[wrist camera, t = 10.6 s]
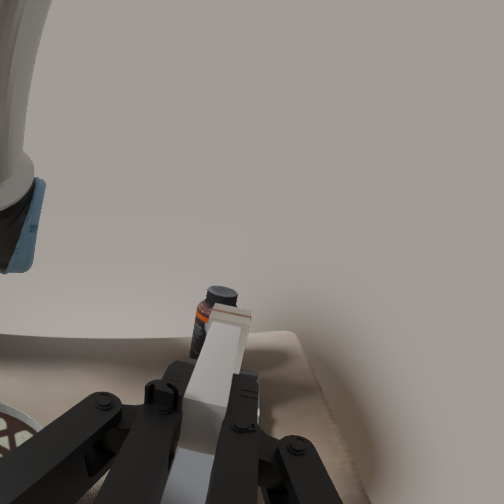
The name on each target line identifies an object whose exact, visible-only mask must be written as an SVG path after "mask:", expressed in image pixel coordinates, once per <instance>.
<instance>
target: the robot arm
mask: <svg viewBox="0 0 504 504" xmlns="http://www.w3.org/2000/svg"><path fill="white" fill-rule="evenodd" d="M51 2H52V0H0V273H2V274H7V273H23V272H26V271H28V270H29V269H30V268H31V266H32V264H33V258H34V251H35V243H36V236H37V230H38V224H39V218H40V213H41V208H42V203H43V198H44V193H45V188H46V183H45V181H44V180H42V179H39V178H38V177H34V166H33V163H32V161H31V159H30V157H29V156H28V155H27V154H26V153H25V152H24V151H23V140H24V129H25V128H24V127H25V120H26V112H27V104H28V97H29V91H30V85H31V79H32V74H33V69H34V65H35V60H36V55H37V51H38V47H39V43H40V39H41V35H42V31H43V28H44V24H45V21H46V17H47V14H48V11H49V8H50V5H51ZM240 330H241V327H237V326H232V325H227V324H223V323H219V322H214V321H212V324H211V326H210V329H209V331H208V334H207V337H206V339H205V342H204V345H203V347H202V350H201V352H200V355H199V358H198V360H197V363H196V365H192V364H188V363H184V362H180V361H175V362H173V363H172V364H170V365H169V366H168V368H167V370H166V372H165V374H164V376H163V378H162V380H153V381H151V382H148V383H147V384H146V385H145V400H144V404H142V405H124V404H122V403H121V401H120V399H119V398H118V397H117V396H115V395H114V394H111V393H109V392H95V393H93V394H91V395H89V396H88V397H86V398H85V399H83V400H82V401H81V402H79V403H78V404H77V405H75V406H74V407H72V408H71V409H70V410H68V411H67V412H66V413H64V414H63V415H61V416H60V417H59V418H57V419H56V420H54V421H53V422H52V423H50V424H49V425H47V426H46V427H45V428H43V429H42V430H40V431H39V432H38V433H36V434H35V435H33V436H32V437H31V438H29V439H28V440H26V441H25V442H23V443H22V444H21V445H19V446H18V447H16V448H15V449H14V450H12V451H11V452H9V453H8V454H6V455H5V456H4V457H2V458H1V459H0V504H75V503H76V502H77V501H78V500H79V499H80V498H81V497H82V496H83V495H84V494H85V493H86V492H87V491H88V490H89V489H90V488H91V487H92V486H93V485H94V484H95V483H96V482H97V481H98V480H99V479H100V478H101V477H102V476H103V475H104V474H105V473H106V472H107V471H108V470H109V469H110V468H111V469H110V471H109V473H108V475H107V476H106V478H105V480H104V482H103V484H102V486H101V488H100V490H99V492H98V494H97V496H96V499H95V501H94V503H93V504H160V502H161V499H162V496H163V493H164V490H165V486H166V483H167V480H168V477H169V474H170V471H171V467H172V464H173V461H174V458H175V451H176V447H179V448H183V449H187V450H191V451H195V452H199V453H204V454H208V455H213V456H215V457H214V461H213V466H212V470H211V474H210V481H209V486H208V491H207V496H206V502H205V504H257V486H260V487H261V491H262V494H263V498H264V501H265V504H343V502H342V500H341V498H340V497H339V495H338V493H337V491H336V489H335V487H334V485H333V483H332V481H331V479H330V477H329V475H328V473H327V471H326V469H325V467H324V465H323V463H322V461H321V459H320V457H319V455H318V453H317V451H316V449H315V447H314V445H313V444H312V443H311V441H309V440H308V439H306V438H304V437H301V436H296V435H290V436H285V437H284V438H282V439H281V440H279V439H276V438H273V437H271V436H269V435H267V434H266V433H264V432H263V431H262V430H261V429H260V428H259V425H258V422H257V418H258V393H259V384H258V383H257V381H256V379H255V377H249V376H244V375H239V374H234V373H233V370H234V365H235V359H236V353H237V347H238V342H239V336H240ZM177 444H178V445H177Z"/></svg>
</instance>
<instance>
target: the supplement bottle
mask: <svg viewBox="0 0 504 504" xmlns="http://www.w3.org/2000/svg"><path fill="white" fill-rule="evenodd" d="M237 296H238V294H237V292H236V291H234V290H233V289H230V288H227V287H222V286H211V287H209V288H208V292H207V295H206V297H207V298H206V299H205V300H204V301H202V302H200V304H199V305H198V307H197V312H196V318H195V324H194V330H193V337H192V343H191V350H190V358H192V359H196V360H198V358H199V355H200V352H201V350H202V347H203V345H204V342H205V339H206V333H207V327H208V321H209V316H210V314H211V310H212V308H213V307H214V305H215V303H218V304H223V305H228V306H233V307H237V306H236V302H237ZM237 308H238V307H237Z"/></svg>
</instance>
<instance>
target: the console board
mask: <svg viewBox="0 0 504 504" xmlns="http://www.w3.org/2000/svg"><path fill="white" fill-rule="evenodd" d="M186 363H188V364H192V365H196V363H197V360H196V359H192V358H188V357H187V360H186ZM239 375H244V376H249V377H255V379H256V381H257V383H258V384H259V393H258V418H257V422H258V423H259V396H260V380H257V378H258V372H254V371H249V370H243V369H240V372H239ZM177 445H178V444H177ZM214 457H215V456H213V455H208V454H204V453H199V452H195V451H191V450H187V449H183V448H179V447H176V451H175V458H174V461H173V464H172V467H171V471H170V474H169V477H168V480H167V483H166V486H165V490H164V493H163V496H162V499H161V502H160V504H205V502H206V496H207V491H208V486H209V481H210V474H211V470H212V466H213V461H214Z"/></svg>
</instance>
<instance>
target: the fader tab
mask: <svg viewBox="0 0 504 504" xmlns="http://www.w3.org/2000/svg"><path fill="white" fill-rule="evenodd" d="M212 321H214V322H219V323H223V324H227V325H232V326H237V327H241V330H240V336H239V342H238V347H237V353H236V359H235V365H234V370H233V373H234V374H239V372H240V368H241V363H242V359H243V354H244V350H245V345H246V340H247V336H248V331H249V327H250V321H251V310H247V309H242V308H237V307H233V306H228V305H223V304H218V303H215V305H214V307H213V308H212V310H211V314H210V316H209V321H208V327H207V333H206V337H207V334H208V331H209V329H210V326H211V324H212Z"/></svg>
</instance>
